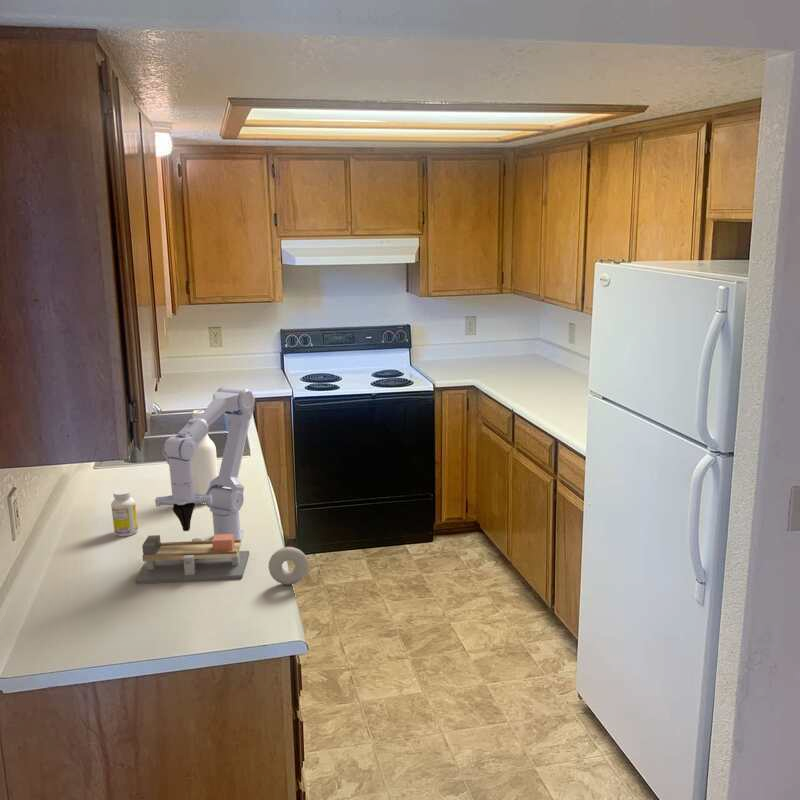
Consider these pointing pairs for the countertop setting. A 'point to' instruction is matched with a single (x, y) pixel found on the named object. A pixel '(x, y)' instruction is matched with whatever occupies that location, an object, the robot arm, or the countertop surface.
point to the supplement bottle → (124, 513)
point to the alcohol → (203, 462)
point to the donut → (290, 555)
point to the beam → (183, 549)
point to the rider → (223, 542)
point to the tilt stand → (193, 569)
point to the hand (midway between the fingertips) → (186, 529)
